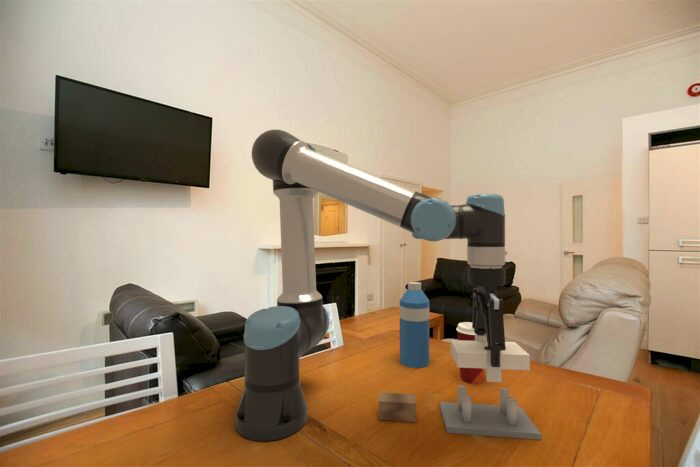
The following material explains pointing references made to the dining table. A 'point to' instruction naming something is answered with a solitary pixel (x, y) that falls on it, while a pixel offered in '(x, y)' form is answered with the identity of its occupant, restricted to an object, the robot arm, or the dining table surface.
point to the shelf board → (475, 355)
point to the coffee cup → (469, 373)
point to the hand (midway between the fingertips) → (487, 371)
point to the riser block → (397, 407)
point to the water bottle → (414, 327)
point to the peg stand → (488, 417)
